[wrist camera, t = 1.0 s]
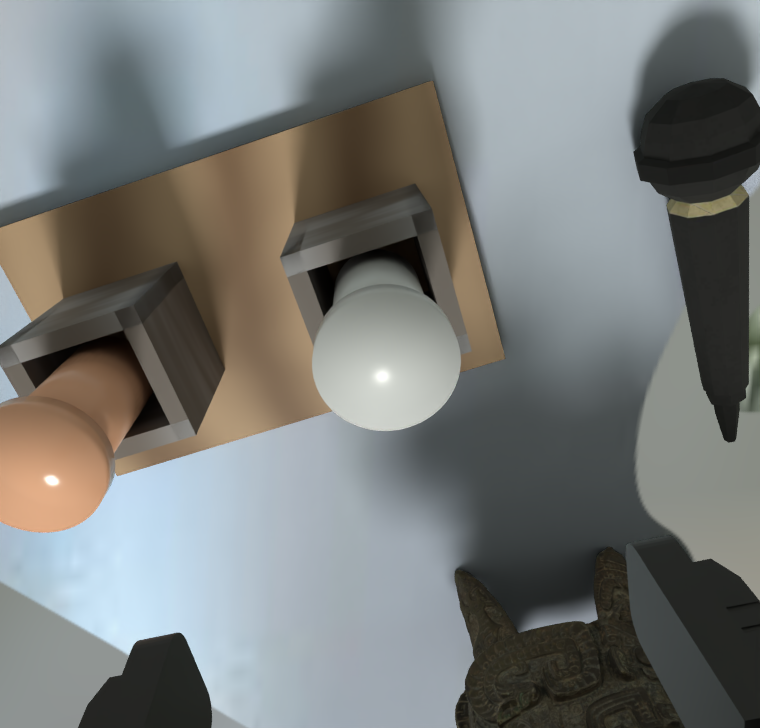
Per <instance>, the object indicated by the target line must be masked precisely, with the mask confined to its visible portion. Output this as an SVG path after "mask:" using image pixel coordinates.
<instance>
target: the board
mask: <svg viewBox="0 0 760 728" xmlns="http://www.w3.org/2000/svg"><path fill="white" fill-rule="evenodd" d="M374 249H382V250H388V251H392V252H394V253H396V254H398V255H400V256H402V257H403V258H404V259H406V260H407V261H408V262H409V263H410V264H411V266H412V267H413V268H414V270H415V272H416V274H417V276H418V279H419V282H420V285H421V288H422V290H423V293H424V295H426V296H428V297H429V298H430V299H431V300H433V301H434V302H435V303H436V304H437V305H438V306H439V307H440V308H441V309H442V310H443V312H444V313H445V315H446V316H447V318H448V320H449V321H450V323H451V326H452V328H453V330H454V333H455V335H456V338H457V341H458V343H459V348H460V355H461V367H460V372H463V371H467V370H470V369H473V368H476V367H480V366H483V365H486V364H490V363H493V362H496V361H500V360H503V359H505V355H504V351H503V347H502V343H501V340H500V336H499V332H498V328H497V324H496V320H495V317H494V313H493V309H492V305H491V301H490V297H489V294H488V290H487V286H486V282H485V278H484V274H483V271H482V267H481V263H480V259H479V255H478V251H477V248H476V244H475V240H474V236H473V232H472V228H471V225H470V221H469V217H468V213H467V209H466V205H465V201H464V198H463V194H462V190H461V186H460V182H459V178H458V175H457V171H456V167H455V163H454V159H453V155H452V152H451V148H450V144H449V140H448V136H447V132H446V129H445V125H444V121H443V117H442V113H441V109H440V106H439V102H438V98H437V94H436V90H435V86H434V83H433V81H429V82H426V83H423V84H420V85H417V86H414V87H411V88H408V89H406V90H403V91H400V92H397V93H394V94H391V95H388V96H385V97H382V98H379V99H376V100H373V101H370V102H367V103H364V104H361V105H359V106H356V107H353V108H350V109H347V110H344V111H341V112H338V113H335V114H332V115H329V116H326V117H323V118H320V119H317V120H314V121H311V122H309V123H306V124H303V125H300V126H297V127H294V128H291V129H288V130H285V131H282V132H279V133H276V134H273V135H270V136H267V137H264V138H261V139H259V140H256V141H253V142H250V143H247V144H244V145H241V146H238V147H235V148H232V149H229V150H226V151H223V152H220V153H217V154H214V155H211V156H209V157H206V158H203V159H200V160H197V161H194V162H191V163H188V164H185V165H182V166H179V167H176V168H173V169H170V170H167V171H164V172H161V173H159V174H156V175H153V176H150V177H147V178H144V179H141V180H138V181H135V182H132V183H129V184H126V185H123V186H120V187H117V188H114V189H111V190H109V191H106V192H103V193H100V194H97V195H94V196H91V197H88V198H85V199H82V200H79V201H76V202H73V203H70V204H67V205H64V206H61V207H59V208H56V209H53V210H50V211H47V212H44V213H41V214H38V215H35V216H32V217H29V218H26V219H23V220H20V221H17V222H14V223H11V224H9V225H6V226H3V227H0V265H1V267H2V268H3V270H4V272H5V274H6V276H7V278H8V279H9V281H10V283H11V285H12V287H13V288H14V290H15V292H16V294H17V296H18V297H19V299H20V301H21V303H22V305H23V307H24V308H25V310H26V312H27V314H28V316H29V317H30V319H31V321H32V322H31V323H29V324H28V325H27V326H25V327H24V328H23V329H21V330H20V331H19V332H17V333H16V334H15V335H13V336H12V337H10V338H9V339H8V340H6V341H5V342H4V343H2V344H1V345H0V365H1V367H2V369H3V370H4V372H5V374H6V375H7V377H8V379H9V381H10V382H11V384H12V386H13V387H14V389H15V391H16V392H17V394H18V396H19V397H24V396H29V395H30V394H31V393H32V392H33V391H34V390H35V389H36V388H37V387H38V386H39V385H40V384H42V383H43V382H44V381H45V380H46V379H47V378H48V377H49V376H50V375H51V374H52V373H53V372H54V371H55V370H56V369H57V368H58V367H59V366H60V365H61V364H62V363H63V362H65V361H66V360H67V359H68V358H69V357H70V356H71V355H72V354H73V353H74V352H75V351H76V350H77V349H78V348H79V347H80V346H81V345H83V344H84V343H85V342H87V341H91V340H94V339H97V338H100V337H103V336H115V337H120V338H123V339H126V340H128V341H129V342H130V344H131V346H132V348H133V350H134V352H135V354H136V356H137V358H138V360H139V362H140V365H141V367H142V369H143V371H144V373H145V375H146V377H147V379H148V381H149V383H150V385H151V387H152V389H153V393H152V395H151V397H150V399H149V400H148V402H147V403H146V405H145V406H144V408H143V409H142V411H141V412H140V414H139V416H138V417H137V419H136V420H135V422H134V423H133V425H132V426H131V428H130V429H129V431H128V433H127V434H126V436H125V437H124V439H123V440H122V442H121V443H120V445H119V446H118V448H117V450H116V451H115V453H114V456H115V473H116V475H117V476H119V475H123V474H126V473H129V472H133V471H136V470H139V469H143V468H146V467H149V466H152V465H156V464H159V463H162V462H166V461H169V460H172V459H176V458H179V457H182V456H186V455H189V454H192V453H195V452H199V451H202V450H205V449H209V448H212V447H215V446H219V445H222V444H225V443H229V442H232V441H235V440H238V439H242V438H245V437H248V436H252V435H255V434H258V433H262V432H265V431H268V430H271V429H275V428H278V427H281V426H285V425H288V424H291V423H295V422H298V421H301V420H305V419H308V418H311V417H314V416H318V415H321V414H324V413H328V412H331V411H332V410H331V409H330V408H329V406H328V405H327V404H326V403H325V402H324V400H323V399H322V397H321V395H320V394H319V391H318V389H317V387H316V384H315V381H314V378H313V371H312V356H313V348H314V341H315V337H316V333H317V330H318V328H319V325H320V323H321V321H322V320H323V318H324V316H325V315H326V313H327V312H328V311H329V310H330V308H331V307H332V306H333V299H334V287H335V281H336V278H337V275H338V273H339V271H340V270H341V268H342V267H343V265H344V264H345V263H346V262H347V261H348V260H349V259H351V258H352V257H353V256H355V255H358V254H361V253H364V252H368V251H371V250H374Z"/></svg>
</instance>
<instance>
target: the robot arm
mask: <svg viewBox="0 0 760 728" xmlns="http://www.w3.org/2000/svg"><path fill="white" fill-rule="evenodd" d="M626 565H627V577H628V589H629V601H630V611H631V617H632V621H633V625H634V628H635V631H636V634H637V637H638V640H639V642H640V644H641V646H642V648H643V650H644V652H645V654H646V656H647V658H648V660H649V661H650V663H651V665H652V667H653V669H654V671H655V673H656V675H657V676H658V678H659V680H660V682H661V684H662V686H663V688H664V689H665V691H666V693H667V695H668V697H669V699H670V701H671V702H672V704H673V706H674V708H675V710H676V712H677V714H678V716H679V717H680V719H681V721H682V723H683V725H684V727H685V728H760V601H759V600H758V599H757V597H756V596H755V595H754V593H753V592H752V591H751V590H750V589H749V587H748V586H747V585H746V584H745V582H744V581H743V580H742V579H741V577H739V576H738V575H736V574H734V573H733V572H731V571H730V570H728V569H727V568H725V567H723V566H722V565H720V564H719V563H717V562H715V561H714V560H712V559H707V560H702V561H697V562H692V561H691V560H690V558H689V557H688V556H687V554H686V553H685V552H684V550H683V549H682V548H681V546H680V545H679V543H678V542H677V541H676V540H675V538H673V537H672V536H671V535H666V536H661V537H656V538H651V539H647V540H642V541H637V542H632V543H628V544H627V545H626ZM211 725H212V711H211V702H210V697H209V693H208V691H207V688H206V686H205V683H204V681H203V679H202V676H201V674H200V672H199V669H198V667H197V665H196V662H195V660H194V657H193V655H192V653H191V650H190V648H189V646H188V643H187V641H186V639H185V637H184V636H183V635H182V634H181V633H174V634H169V635H164V636H159V637H154V638H149V639H144V640H139V641H137V642H136V643H135V644H134V646H133V648H132V650H131V653H130V655H129V658H128V660H127V663H126V666H125V668H124V671H123V674H122V675H121V676H115V677H110V678H109V679H108V680H107V682H106V683H105V684H104V685H103V686H102V688H101V689H100V690H99V691H98V693H97V694H96V695H95V696H94V698H93V699H92V700H91V701H90V703H89V704H88V705H87V707H86V710H85V712H84V715H83V717H82V720H81V722H80V724H79V727H78V728H211Z"/></svg>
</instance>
